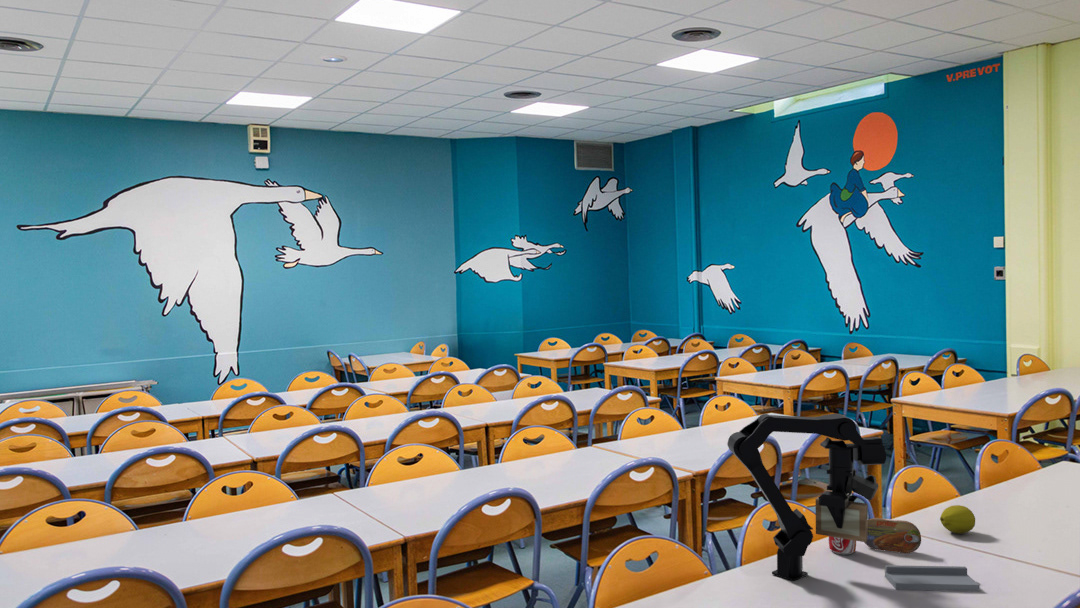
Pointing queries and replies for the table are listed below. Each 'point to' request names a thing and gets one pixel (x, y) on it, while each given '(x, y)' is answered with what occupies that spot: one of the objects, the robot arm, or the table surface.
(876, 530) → the tin
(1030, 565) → the table surface
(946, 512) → the lemon
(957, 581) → the ledge
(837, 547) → the soda can
